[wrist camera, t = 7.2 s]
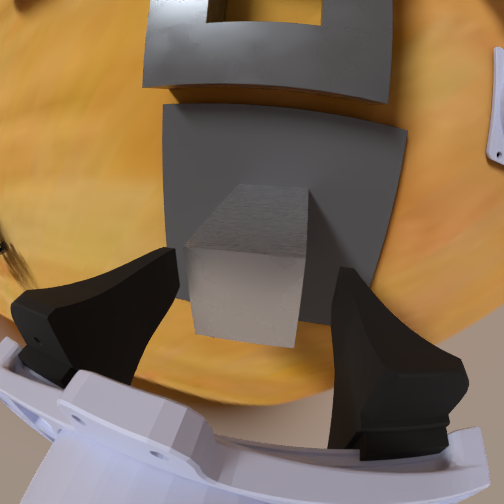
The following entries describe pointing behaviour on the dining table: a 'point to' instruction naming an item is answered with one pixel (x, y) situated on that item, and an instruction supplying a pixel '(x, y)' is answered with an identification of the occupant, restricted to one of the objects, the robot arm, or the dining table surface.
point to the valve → (3, 247)
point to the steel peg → (250, 266)
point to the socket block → (272, 50)
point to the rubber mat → (285, 182)
